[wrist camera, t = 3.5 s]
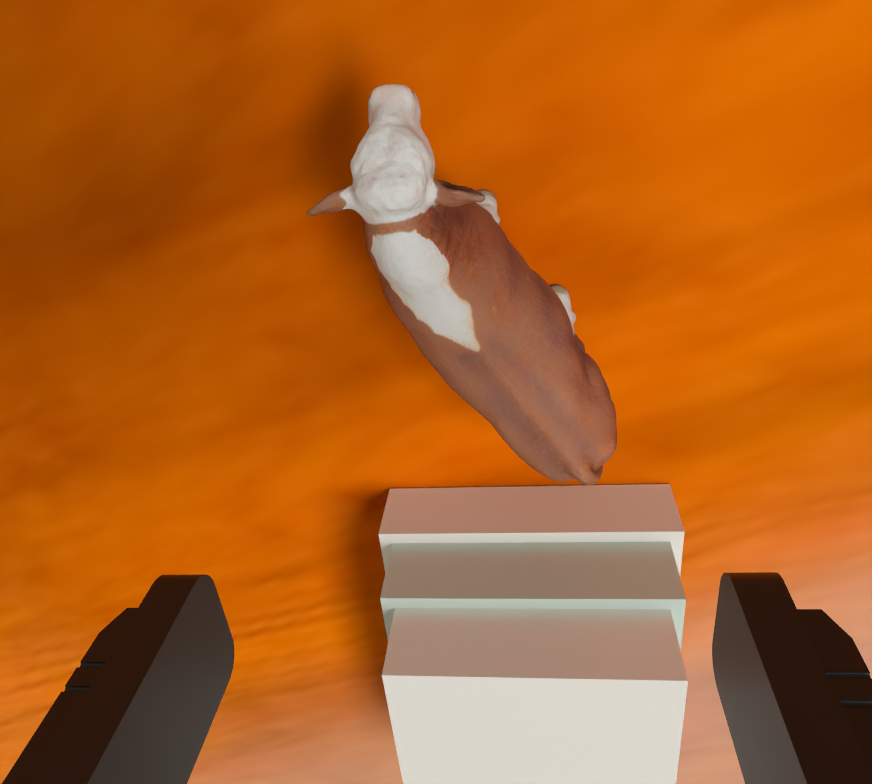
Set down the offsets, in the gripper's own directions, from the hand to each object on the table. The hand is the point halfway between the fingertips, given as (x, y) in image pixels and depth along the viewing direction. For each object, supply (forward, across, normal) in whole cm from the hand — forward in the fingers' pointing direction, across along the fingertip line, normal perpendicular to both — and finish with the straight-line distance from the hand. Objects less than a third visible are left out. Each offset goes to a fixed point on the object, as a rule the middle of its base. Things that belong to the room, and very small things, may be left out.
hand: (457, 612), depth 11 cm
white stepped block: (+17, -1, +18) cm, 25 cm away
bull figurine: (+17, 0, 0) cm, 17 cm away
